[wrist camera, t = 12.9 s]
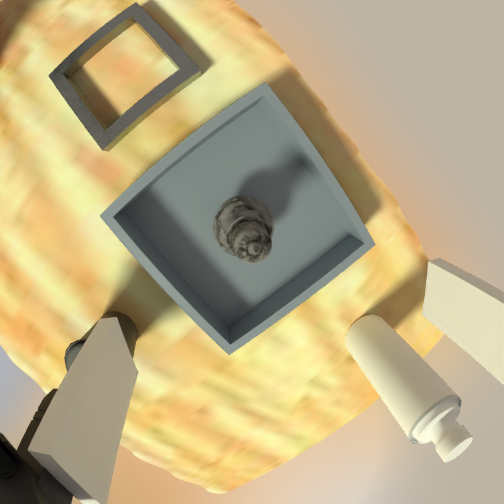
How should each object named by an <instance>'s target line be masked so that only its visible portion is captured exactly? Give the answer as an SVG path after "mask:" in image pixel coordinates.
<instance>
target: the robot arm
mask: <svg viewBox="0 0 504 504" xmlns="http://www.w3.org/2000/svg"><path fill="white" fill-rule="evenodd" d="M422 316H424V317H425V318H426V319H427V320H429V321H430V322H431V323H432V324H434V325H435V326H436V327H437V328H438V329H440V330H441V331H442V332H443V333H444V334H446V335H447V336H448V337H449V338H450V339H452V340H453V341H454V342H455V343H457V344H458V345H459V346H460V347H461V348H462V349H464V350H465V351H466V352H467V353H468V354H469V355H471V356H472V357H473V358H474V359H475V360H476V361H477V362H479V363H480V364H481V365H482V366H483V367H484V368H485V369H486V370H488V371H489V372H490V373H491V374H492V375H493V376H494V377H496V378H497V379H498V380H499V381H500V382H501V383H502V384H503V385H504V292H503V291H501V290H499V289H497V288H496V287H494V286H492V285H490V284H488V283H487V282H485V281H483V280H481V279H479V278H477V277H475V276H473V275H472V274H469V273H468V272H466V271H464V270H462V269H460V268H458V267H456V266H454V265H452V264H450V263H448V262H446V261H444V260H442V259H435V260H431V261H428V270H427V280H426V290H425V298H424V305H423V312H422ZM137 375H138V371H137V369H136V366H135V364H134V361H133V359H132V356H131V354H130V351H129V349H128V346H127V344H126V341H125V338H124V336H123V333H122V330H121V327H120V325H119V322H118V319H117V317H112V318H103V319H100V320H99V321H98V323H97V324H96V326H95V327H94V329H93V330H92V332H91V334H90V335H89V337H88V338H87V340H86V342H85V343H84V345H83V347H82V348H81V350H80V352H79V353H78V355H77V357H76V358H75V360H74V362H73V363H72V365H71V367H70V369H69V370H68V372H67V374H66V376H65V377H64V379H63V381H62V383H61V384H60V386H59V388H58V389H53V390H52V391H51V392H49V393H48V394H47V395H46V396H45V397H44V399H43V400H42V402H41V404H40V406H39V407H38V411H37V412H36V413H35V415H34V417H33V420H32V421H31V423H30V424H29V426H28V428H27V430H26V432H25V434H24V436H23V438H22V440H21V442H20V444H19V447H18V449H17V450H16V449H15V448H14V447H13V446H12V445H11V444H10V442H9V441H8V440H7V439H6V437H5V436H4V435H3V434H2V433H0V504H71V502H72V498H73V496H74V497H76V498H77V499H78V500H79V501H80V502H81V503H83V504H107V500H108V494H109V488H110V484H111V479H112V474H113V469H114V464H115V460H116V456H117V451H118V447H119V443H120V439H121V434H122V430H123V426H124V422H125V418H126V415H127V411H128V407H129V403H130V400H131V396H132V392H133V389H134V385H135V382H136V378H137Z"/></svg>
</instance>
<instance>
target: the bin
mask: <svg viewBox="0 0 504 504" xmlns="http://www.w3.org/2000/svg"><path fill="white" fill-rule="evenodd" d="M240 196H243V197H251V198H255V199H257V200H259V201H261V202H262V203H263V204H264V205H266V206H267V207H268V209H269V210H270V212H271V213H272V216H273V219H274V233H273V237H272V239H271V240H272V248H271V252H270V254H269V255H268V257H267V258H266V259H264V260H263V261H261V262H259V263H254V264H250V263H246V262H243V261H242V260H240V259H239V258H238V257H237V256H233V255H231V254H228V253H226V252H225V251H224V250H223V249H222V248H220V246H219V245H218V243H217V242H216V240H215V237H214V234H213V222H214V217H215V215H216V213H217V211H218V210H219V208H220V207H221V206H222V205H223V203H224V202H226V201H227V200H229V199H231V198H234V197H240ZM100 217H101V218H102V219H103V221H104V222H105V223H106V224H107V225H108V227H109V228H110V229H111V230H112V232H113V233H114V234H115V235H116V236H117V238H118V239H119V240H120V241H121V242H122V243H123V245H124V246H125V247H126V248H127V249H128V251H129V252H130V253H131V254H132V255H133V256H134V257H135V259H136V260H137V261H138V262H139V263H140V264H141V265H142V267H143V268H144V269H145V270H146V271H147V272H148V273H149V274H150V275H151V277H152V278H153V279H154V280H155V281H156V282H157V283H158V284H159V285H160V286H161V287H162V288H163V290H164V291H165V292H166V293H167V294H168V295H169V296H170V297H171V298H172V299H173V300H174V301H175V302H176V303H177V304H178V305H179V306H180V307H181V308H182V309H183V311H184V312H185V313H186V314H187V315H188V316H189V317H190V318H191V319H192V320H193V321H194V322H195V323H196V324H197V325H198V326H199V327H200V328H201V329H202V330H203V331H204V332H205V333H206V334H207V335H209V336H210V337H211V338H212V339H213V340H214V341H215V342H216V343H217V344H218V345H219V346H220V347H221V348H222V349H223V350H224V351H225V352H226V353H227V354H228V355H230V354H231V353H233V352H234V351H236V350H237V349H239V348H240V347H242V346H243V345H245V344H246V343H247V342H249V341H250V340H252V339H253V338H255V337H256V336H258V335H259V334H260V333H262V332H263V331H265V330H266V329H267V328H269V327H270V326H272V325H273V324H274V323H276V322H277V321H279V320H280V319H281V318H283V317H284V316H285V315H287V314H288V313H290V312H291V311H292V310H294V309H295V308H296V307H298V306H299V305H300V304H302V303H303V302H304V301H306V300H307V299H308V298H310V297H311V296H312V295H313V294H315V293H316V292H317V291H319V290H320V289H321V288H323V287H324V286H325V285H326V284H328V283H329V282H330V281H332V280H333V279H334V278H335V277H337V276H338V275H339V274H340V273H342V272H343V271H344V270H345V269H347V268H348V267H349V266H350V265H352V264H353V263H354V262H355V261H356V260H358V259H359V258H360V257H361V256H362V255H364V254H365V253H366V252H367V251H369V250H370V249H371V248H372V247H373V246H374V245H375V243H374V241H373V239H372V237H371V236H370V234H369V232H368V230H367V229H366V227H365V225H364V223H363V222H362V220H361V218H360V217H359V215H358V213H357V212H356V210H355V208H354V207H353V205H352V203H351V202H350V200H349V198H348V197H347V195H346V194H345V192H344V190H343V189H342V187H341V186H340V184H339V183H338V181H337V179H336V178H335V176H334V175H333V173H332V172H331V170H330V169H329V167H328V166H327V164H326V163H325V161H324V160H323V158H322V157H321V155H320V154H319V153H318V151H317V150H316V148H315V147H314V145H313V144H312V143H311V141H310V140H309V138H308V137H307V136H306V134H305V133H304V131H303V130H302V129H301V127H300V126H299V125H298V123H297V122H296V121H295V119H294V118H293V117H292V115H291V114H290V113H289V111H288V110H287V109H286V107H285V106H284V105H283V103H282V102H281V101H280V100H279V98H278V97H277V96H276V95H275V93H274V92H273V91H272V90H271V88H270V87H269V86H268V85H267V83H266V82H265V83H263V84H262V85H260V86H258V87H257V88H255V89H254V90H252V91H251V92H249V93H248V94H246V95H245V96H243V97H242V98H240V99H239V100H237V101H236V102H234V103H233V104H232V105H230V106H229V107H227V108H226V109H224V110H223V111H222V112H220V113H219V114H217V115H216V116H215V117H213V118H212V119H211V120H209V121H208V122H207V123H205V124H204V125H203V126H201V127H200V128H199V129H197V130H196V131H195V132H193V133H192V134H191V135H190V136H188V137H187V138H186V139H185V140H183V141H182V142H181V143H180V144H178V145H177V146H176V147H175V148H173V149H172V150H171V151H170V152H169V153H167V154H166V155H165V156H164V157H163V158H161V159H160V160H159V161H158V162H157V163H156V164H154V165H153V166H152V167H151V168H150V169H149V170H148V171H146V172H145V173H144V174H143V175H142V176H141V177H140V178H139V179H137V180H136V181H135V182H134V183H133V184H132V185H131V186H130V187H129V188H128V189H127V190H126V191H125V192H123V193H122V194H121V195H120V196H119V197H118V198H117V199H116V200H115V201H114V202H113V203H112V204H111V205H110V206H109V207H108V208H107V209H106V210H105V211H104V212H103V213H102V214H101V215H100Z"/></svg>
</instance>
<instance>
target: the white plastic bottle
mask: <svg viewBox="0 0 504 504" xmlns="http://www.w3.org/2000/svg"><path fill="white" fill-rule="evenodd" d="M345 344H346V347H347V349H348V351H349V352H350V354H351V355H352V356H353V358H354V359H355V361H356V362H357V364H358V365H359V366H360V368H361V369H362V371H363V372H364V374H365V375H366V376H367V378H368V379H369V381H370V382H371V384H372V385H373V387H374V388H375V390H376V391H377V392H378V394H379V395H380V397H381V398H382V400H383V401H384V403H385V404H386V406H387V407H388V408H389V410H390V411H391V413H392V414H393V416H394V417H395V419H396V420H397V422H398V423H399V425H400V426H401V427H402V429H403V430H404V432H405V433H406V435H407V436H408V438H409V439H410V440H411V442H412V443H428V442H430V441H433V442H434V444H435V445H436V451H437V452H438V454H439V455H440V457H441V458H442V460H443V461H444V462H448V461H451V460H452V459H454V458H456V457H457V456H458V455H460V454H461V453H462V452H463V451H464V450H465V449H466V448H467V447H468V446H469V445H470V443H471V442H472V440H473V436H472V435H471V434H470V433H469V432H468V431H467V429H466V428H465V427H464V426H463V425H459V424H458V423H457V421H456V419H457V417H458V415H459V413H460V406H461V399H460V398H459V396H458V395H457V394H456V393H455V392H454V391H453V390H452V389H451V388H450V387H449V386H448V385H447V384H446V382H445V381H444V380H443V379H442V378H441V377H440V376H439V375H438V374H437V373H436V372H435V371H434V370H433V369H432V368H431V367H430V366H429V365H428V364H427V363H426V362H425V361H424V360H423V359H422V358H421V356H420V355H419V354H418V353H417V352H416V351H415V350H414V349H413V348H412V347H411V346H410V345H409V344H408V343H407V342H406V341H405V340H404V339H403V338H402V337H401V336H400V335H399V334H398V333H397V332H396V331H395V330H393V329H392V328H391V327H390V326H389V325H388V324H387V323H386V322H385V321H384V320H383V319H382V318H381V317H380V316H377V315H366V316H363V317H361V318H359V319H358V320H357V321H355V322H354V323H353V324H352V325H351V327H350V328H349V330H348V331H347V334H346V337H345ZM458 403H459V404H458ZM412 440H413V441H412ZM416 440H417V441H416Z"/></svg>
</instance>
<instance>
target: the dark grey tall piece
mask: <svg viewBox="0 0 504 504" xmlns="http://www.w3.org/2000/svg"><path fill="white" fill-rule="evenodd" d="M273 233H274V219H273V216H272V213H271V212H270V210H269V209H268V207H267V206H266V205H264V204H263V203H262V202H261V201H259V200H257V199H255V198H251V197H243V196H240V197H234V198H231V199H229V200H227V201H226V202H224V203H223V205H222V206H221V207H220V208H219V210H218V211H217V213H216V215H215V217H214V222H213V234H214V237H215V240H216V242H217V243H218V245H219V246H220V248H222V249H223V250H224V251H225V252H226V253H228V254H231V255H233V256H237V257H238V258H239V259H240V260H242V261H243V262H246V263H250V264H254V263H259V262H261V261H263V260H264V259H266V258H267V257H268V255H269V254H270V252H271V248H272V240H271V239H272V237H273Z"/></svg>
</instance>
